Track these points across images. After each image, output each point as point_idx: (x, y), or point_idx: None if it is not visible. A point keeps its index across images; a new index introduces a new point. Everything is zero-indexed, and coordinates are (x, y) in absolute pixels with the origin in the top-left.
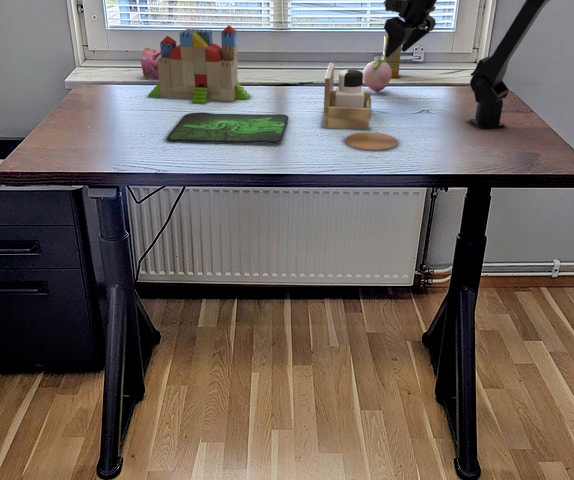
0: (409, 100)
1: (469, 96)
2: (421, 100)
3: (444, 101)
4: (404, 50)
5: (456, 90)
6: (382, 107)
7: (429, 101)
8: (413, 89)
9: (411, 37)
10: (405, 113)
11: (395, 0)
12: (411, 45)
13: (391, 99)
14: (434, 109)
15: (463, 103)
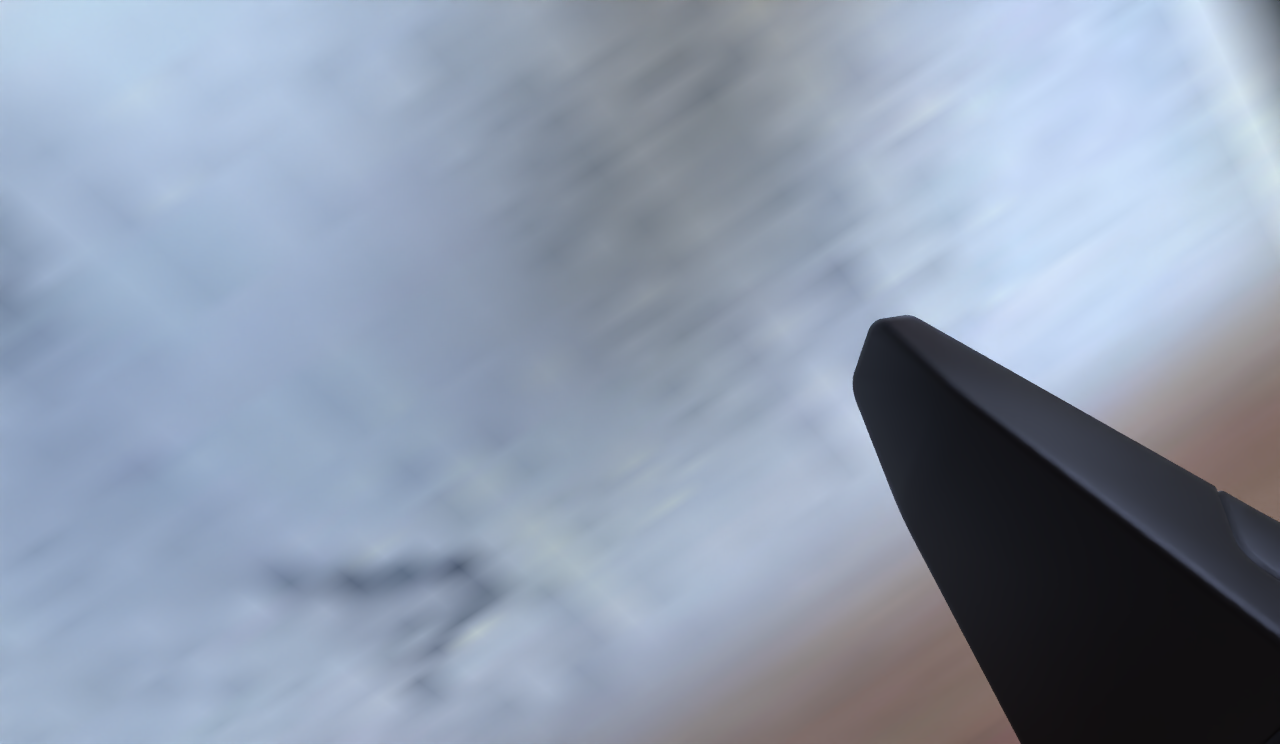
0: (718, 227)
1: None
2: (794, 323)
3: (889, 501)
4: (869, 409)
5: (1262, 360)
6: (217, 151)
7: (808, 403)
8: (1126, 7)
9: (1130, 698)
10: (212, 507)
11: None
12: (961, 621)
13: (624, 33)
14: (581, 608)
15: (921, 647)
